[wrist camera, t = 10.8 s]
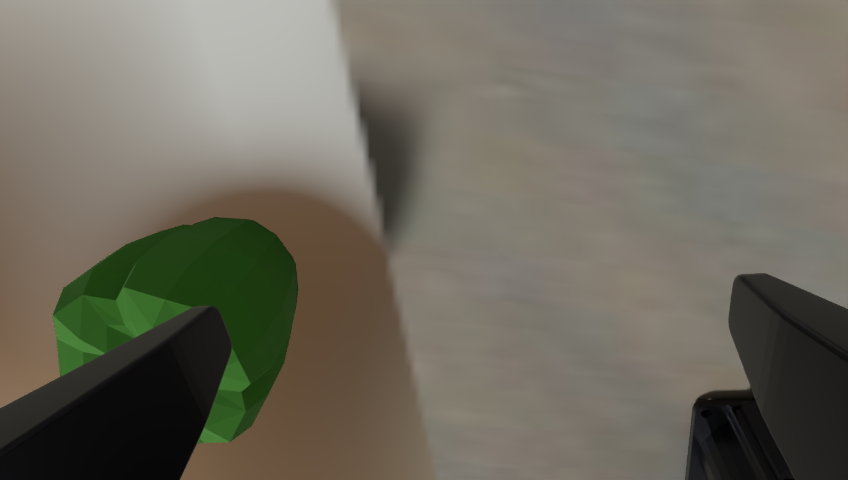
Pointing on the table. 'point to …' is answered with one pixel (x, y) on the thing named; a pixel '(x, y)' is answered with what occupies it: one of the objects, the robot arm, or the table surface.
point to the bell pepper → (183, 289)
